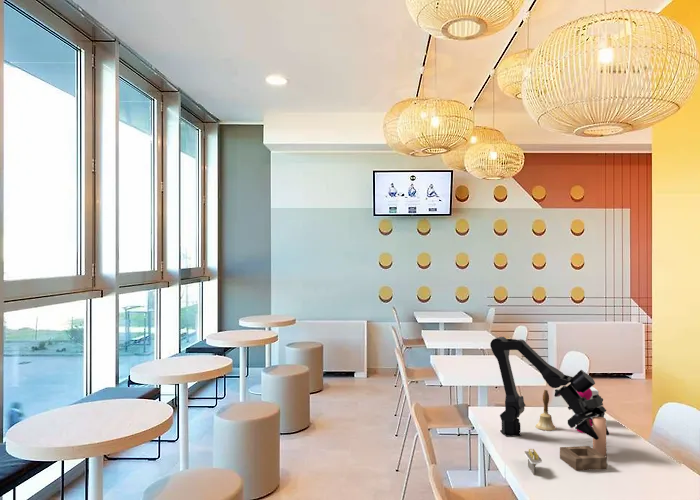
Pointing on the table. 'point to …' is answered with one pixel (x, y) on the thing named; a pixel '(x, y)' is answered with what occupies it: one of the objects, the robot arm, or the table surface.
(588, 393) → the pepper mill
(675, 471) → the table surface
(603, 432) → the peg
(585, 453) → the socket
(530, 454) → the platform
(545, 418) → the hand bell
